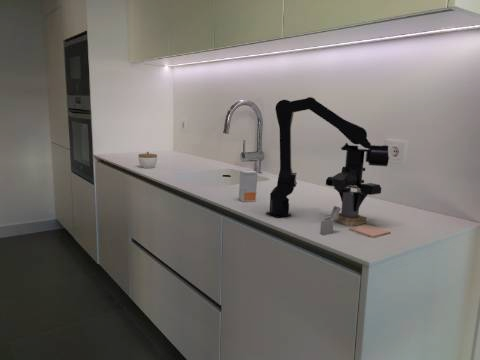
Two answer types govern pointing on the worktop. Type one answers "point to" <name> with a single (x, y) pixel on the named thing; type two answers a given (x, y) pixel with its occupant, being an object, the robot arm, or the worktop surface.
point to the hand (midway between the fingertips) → (350, 210)
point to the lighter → (329, 221)
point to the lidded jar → (147, 160)
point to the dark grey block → (348, 205)
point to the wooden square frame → (351, 220)
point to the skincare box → (248, 186)
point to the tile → (369, 231)
